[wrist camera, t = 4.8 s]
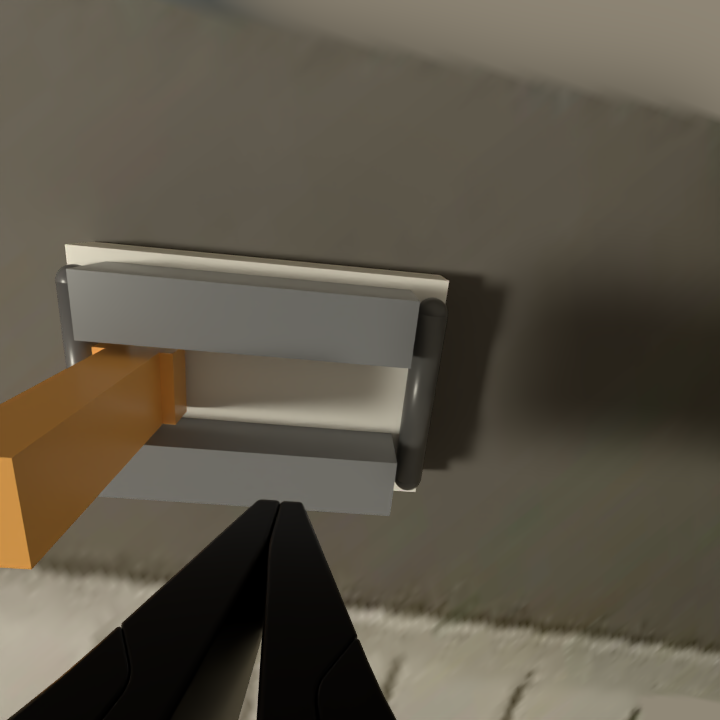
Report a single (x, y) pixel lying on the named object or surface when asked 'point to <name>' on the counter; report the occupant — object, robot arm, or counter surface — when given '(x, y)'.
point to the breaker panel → (268, 372)
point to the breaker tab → (79, 440)
